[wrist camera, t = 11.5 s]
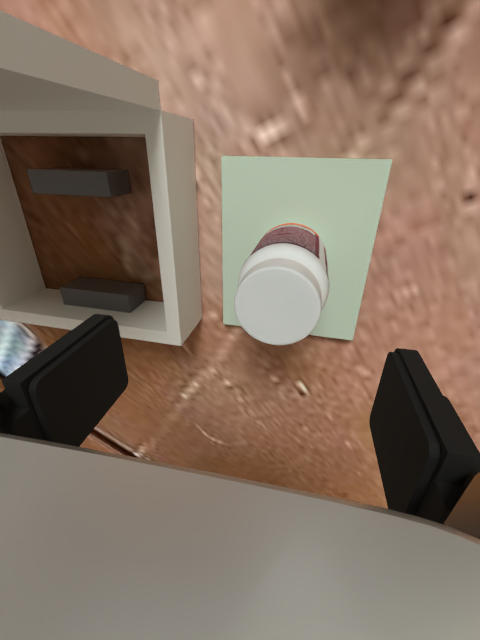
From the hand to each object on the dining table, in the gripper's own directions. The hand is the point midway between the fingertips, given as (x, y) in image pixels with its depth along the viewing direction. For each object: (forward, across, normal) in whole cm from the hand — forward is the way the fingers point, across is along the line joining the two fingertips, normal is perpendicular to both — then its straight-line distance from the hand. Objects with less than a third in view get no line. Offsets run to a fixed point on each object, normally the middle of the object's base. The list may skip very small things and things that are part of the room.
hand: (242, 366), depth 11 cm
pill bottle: (+13, -1, 0) cm, 13 cm away
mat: (+13, -1, 0) cm, 13 cm away
